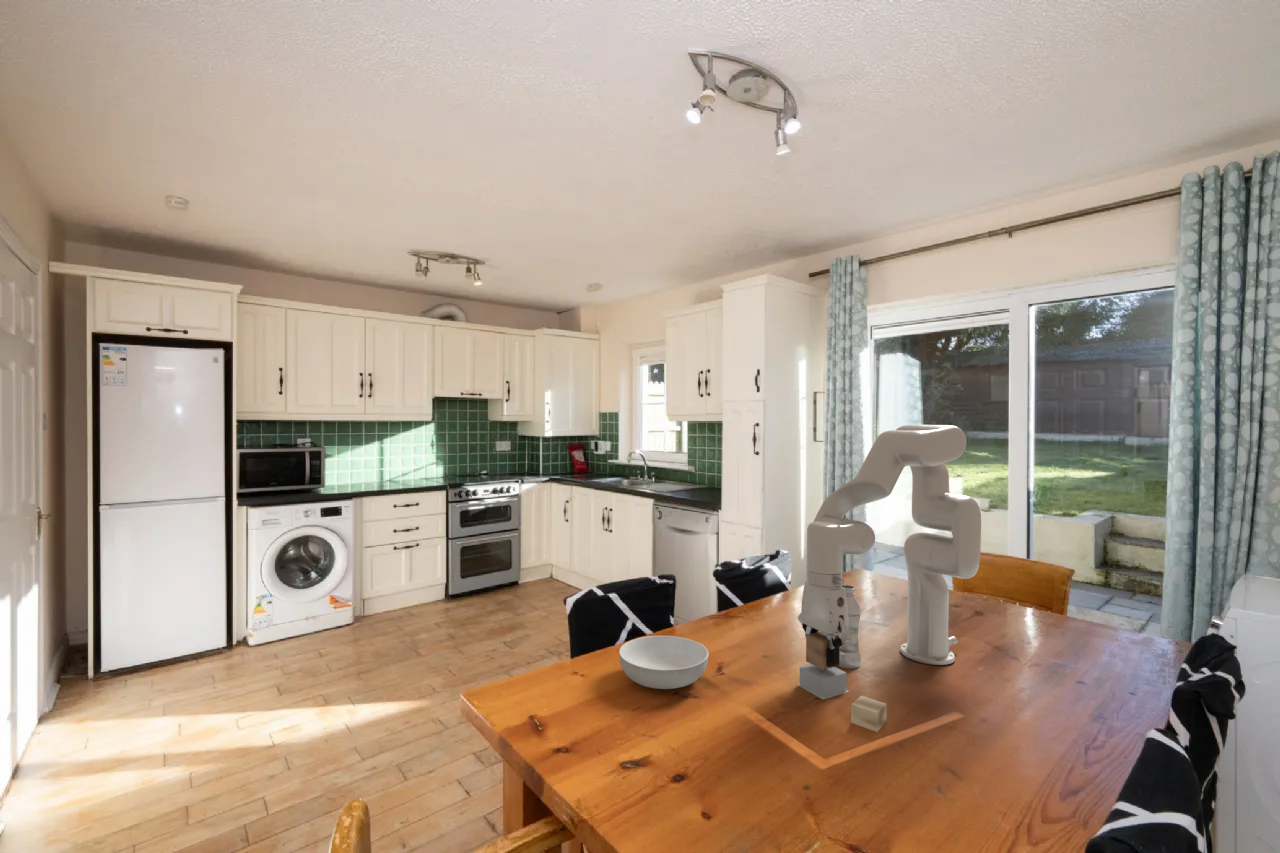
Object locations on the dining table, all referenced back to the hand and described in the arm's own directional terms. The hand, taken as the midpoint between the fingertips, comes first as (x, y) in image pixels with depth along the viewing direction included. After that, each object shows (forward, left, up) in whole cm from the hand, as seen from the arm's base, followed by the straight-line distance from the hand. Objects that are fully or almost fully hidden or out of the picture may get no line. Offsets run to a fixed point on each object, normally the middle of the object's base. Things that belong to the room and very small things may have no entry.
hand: (822, 659), depth 128 cm
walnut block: (0, 0, -1) cm, 1 cm away
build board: (0, 0, -8) cm, 8 cm away
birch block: (+3, +15, -8) cm, 17 cm away
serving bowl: (+28, -22, -8) cm, 36 cm away
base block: (0, 0, -6) cm, 6 cm away
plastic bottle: (-15, -7, -8) cm, 18 cm away
